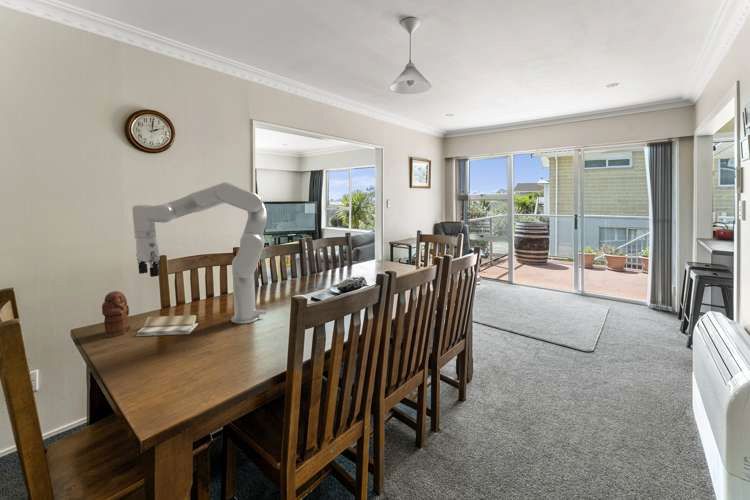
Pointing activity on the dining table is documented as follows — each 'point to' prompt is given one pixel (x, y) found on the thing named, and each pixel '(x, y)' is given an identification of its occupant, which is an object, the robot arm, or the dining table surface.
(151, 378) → the dining table surface
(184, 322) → the plank
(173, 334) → the underlay
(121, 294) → the wooden figurine
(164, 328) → the laid board
